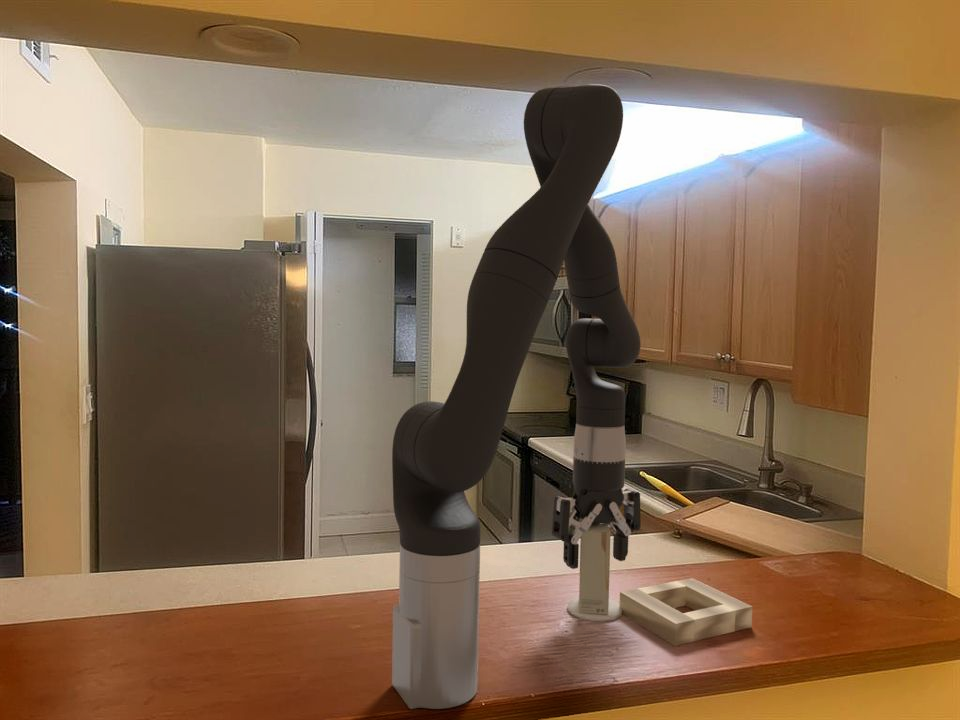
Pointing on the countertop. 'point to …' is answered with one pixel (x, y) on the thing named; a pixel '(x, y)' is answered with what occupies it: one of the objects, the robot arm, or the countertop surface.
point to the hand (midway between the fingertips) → (596, 563)
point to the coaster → (612, 614)
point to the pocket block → (707, 620)
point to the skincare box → (595, 569)
